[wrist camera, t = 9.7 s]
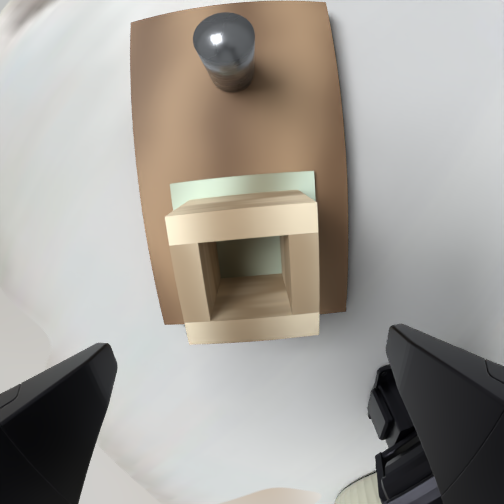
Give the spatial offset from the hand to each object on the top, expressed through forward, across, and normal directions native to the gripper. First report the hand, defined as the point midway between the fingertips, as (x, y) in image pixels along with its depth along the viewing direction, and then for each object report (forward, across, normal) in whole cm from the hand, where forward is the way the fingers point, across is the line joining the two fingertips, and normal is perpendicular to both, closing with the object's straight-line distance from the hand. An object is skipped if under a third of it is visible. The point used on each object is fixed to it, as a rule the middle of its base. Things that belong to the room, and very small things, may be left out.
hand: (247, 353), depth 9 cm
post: (+9, 0, -11) cm, 14 cm away
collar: (+9, 0, -1) cm, 9 cm away
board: (+11, 0, -6) cm, 12 cm away
